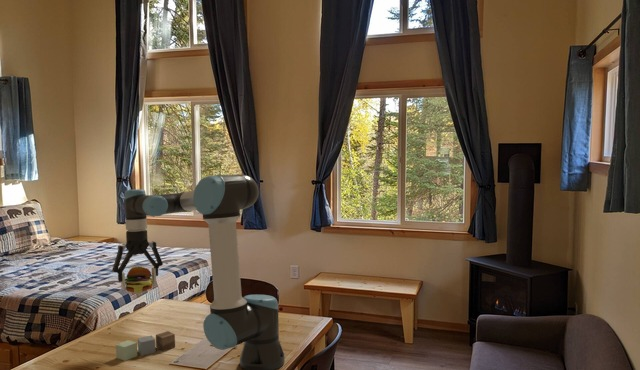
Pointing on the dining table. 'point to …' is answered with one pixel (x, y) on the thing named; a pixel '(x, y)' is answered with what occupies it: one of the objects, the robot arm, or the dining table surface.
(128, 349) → the sage block
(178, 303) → the dining table surface
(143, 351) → the slate block
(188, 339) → the dining table surface
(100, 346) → the dining table surface
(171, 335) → the walnut block
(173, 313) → the dining table surface
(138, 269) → the cheeseburger
